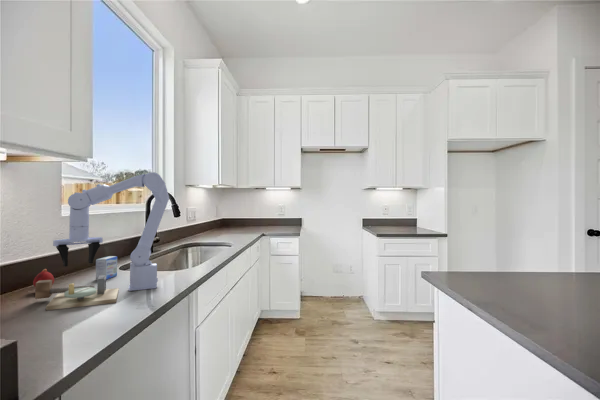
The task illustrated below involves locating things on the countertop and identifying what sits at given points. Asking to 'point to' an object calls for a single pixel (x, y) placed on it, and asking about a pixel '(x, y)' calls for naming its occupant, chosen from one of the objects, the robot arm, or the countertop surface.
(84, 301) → the board
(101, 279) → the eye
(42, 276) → the onion
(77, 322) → the countertop surface
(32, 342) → the countertop surface
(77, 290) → the handwheel
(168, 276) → the countertop surface
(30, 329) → the countertop surface
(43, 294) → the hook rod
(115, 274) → the medicine box
